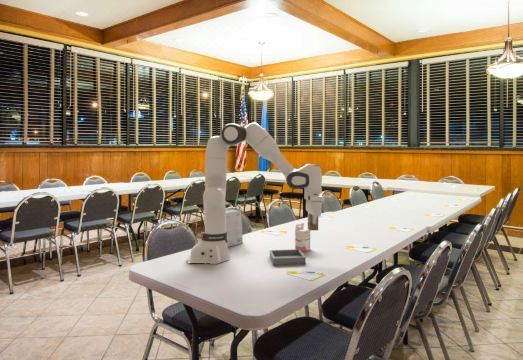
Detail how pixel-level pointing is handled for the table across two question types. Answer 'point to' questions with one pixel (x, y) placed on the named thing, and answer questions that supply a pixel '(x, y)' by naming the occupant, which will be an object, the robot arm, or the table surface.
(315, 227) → the walnut block
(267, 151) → the robot arm
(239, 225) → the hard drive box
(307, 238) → the ink cartridge box
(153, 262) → the table surface
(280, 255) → the sorting tray
